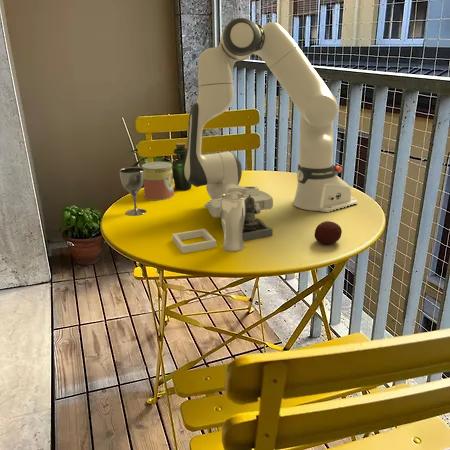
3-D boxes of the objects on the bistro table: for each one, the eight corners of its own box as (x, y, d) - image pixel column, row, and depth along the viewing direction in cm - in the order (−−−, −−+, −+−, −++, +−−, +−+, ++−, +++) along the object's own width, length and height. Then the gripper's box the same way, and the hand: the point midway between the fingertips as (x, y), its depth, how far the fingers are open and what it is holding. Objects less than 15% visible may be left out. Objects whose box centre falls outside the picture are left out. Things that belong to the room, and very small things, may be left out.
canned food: (165, 201, 166) (162, 169, 162) (138, 198, 170) (135, 167, 166) (179, 192, 176) (177, 162, 172) (154, 190, 180) (151, 160, 176)
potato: (347, 243, 128) (349, 223, 126) (326, 250, 124) (327, 230, 121) (329, 235, 134) (330, 216, 131) (307, 241, 130) (308, 222, 127)
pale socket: (204, 234, 136) (204, 228, 135) (216, 247, 127) (216, 240, 126) (172, 240, 133) (172, 233, 132) (182, 253, 124) (182, 246, 123)
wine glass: (127, 217, 151) (123, 174, 146) (121, 210, 158) (116, 168, 152) (150, 213, 154) (146, 170, 149) (143, 207, 161) (139, 165, 155)
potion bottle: (182, 192, 176) (179, 146, 169) (168, 188, 181) (165, 144, 174) (197, 187, 181) (195, 143, 175) (183, 184, 186) (181, 140, 180)
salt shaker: (259, 228, 139) (260, 191, 135) (259, 236, 134) (259, 197, 129) (240, 228, 140) (240, 191, 135) (239, 236, 134) (238, 197, 130)
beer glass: (220, 242, 130) (218, 193, 124) (244, 241, 130) (243, 191, 125) (222, 253, 124) (220, 200, 118) (247, 251, 124) (247, 199, 118)
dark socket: (257, 224, 143) (257, 218, 142) (272, 235, 134) (272, 229, 133) (228, 229, 139) (228, 223, 139) (241, 241, 131) (241, 234, 130)
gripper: (201, 194, 141) (217, 207, 129) (261, 185, 148) (281, 197, 136) (202, 213, 143) (218, 228, 131) (261, 204, 150) (281, 217, 138)
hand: (251, 212), depth 134 cm, fingers closed on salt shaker, 3 cm apart
